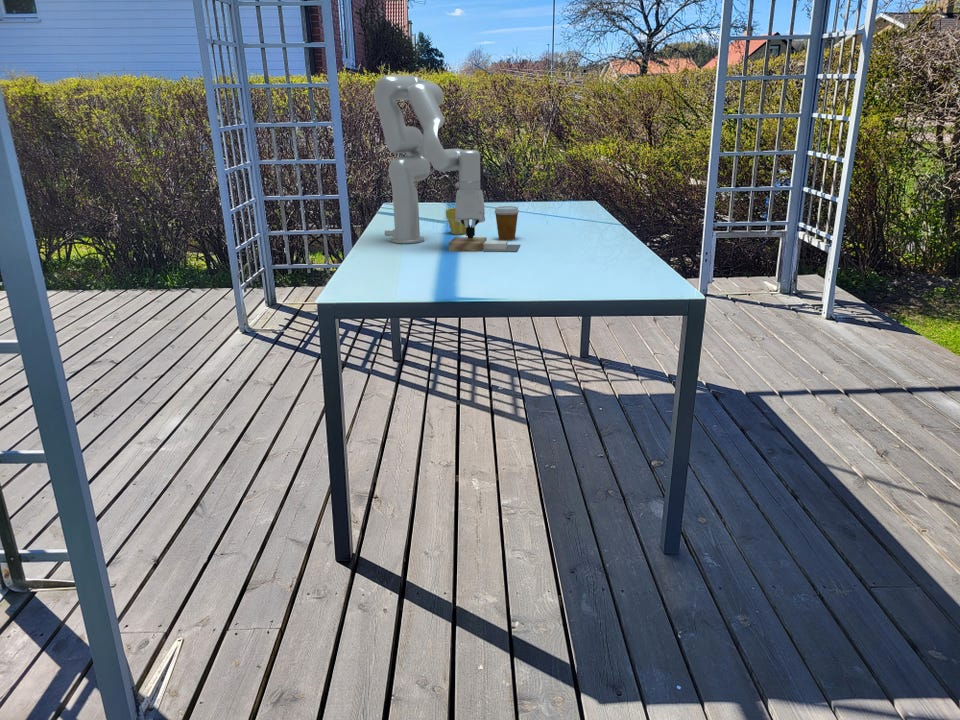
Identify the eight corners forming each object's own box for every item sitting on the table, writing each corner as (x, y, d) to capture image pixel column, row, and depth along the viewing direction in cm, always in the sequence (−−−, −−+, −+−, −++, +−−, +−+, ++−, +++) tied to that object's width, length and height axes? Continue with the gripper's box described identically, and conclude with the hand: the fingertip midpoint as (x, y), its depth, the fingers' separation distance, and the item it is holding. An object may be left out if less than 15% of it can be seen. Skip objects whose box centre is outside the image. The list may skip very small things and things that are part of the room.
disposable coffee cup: (521, 237, 279) (521, 206, 275) (516, 241, 270) (516, 209, 266) (497, 236, 281) (497, 206, 277) (492, 240, 272) (491, 209, 268)
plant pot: (443, 232, 294) (443, 208, 290) (467, 230, 296) (467, 206, 293) (450, 236, 284) (449, 211, 281) (474, 234, 287) (474, 209, 284)
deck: (449, 251, 254) (448, 242, 253) (454, 245, 265) (454, 237, 264) (482, 251, 252) (482, 243, 251) (486, 245, 263) (486, 237, 262)
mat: (483, 251, 251) (483, 250, 251) (488, 245, 264) (488, 244, 263) (517, 252, 250) (517, 251, 250) (520, 245, 262) (520, 244, 262)
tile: (483, 249, 254) (483, 243, 254) (485, 246, 260) (485, 240, 259) (505, 249, 253) (505, 243, 253) (507, 246, 259) (507, 240, 258)
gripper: (447, 187, 248) (448, 239, 255) (489, 187, 246) (489, 240, 253) (450, 185, 255) (452, 236, 262) (491, 185, 253) (492, 236, 260)
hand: (470, 237), depth 257 cm, fingers closed
